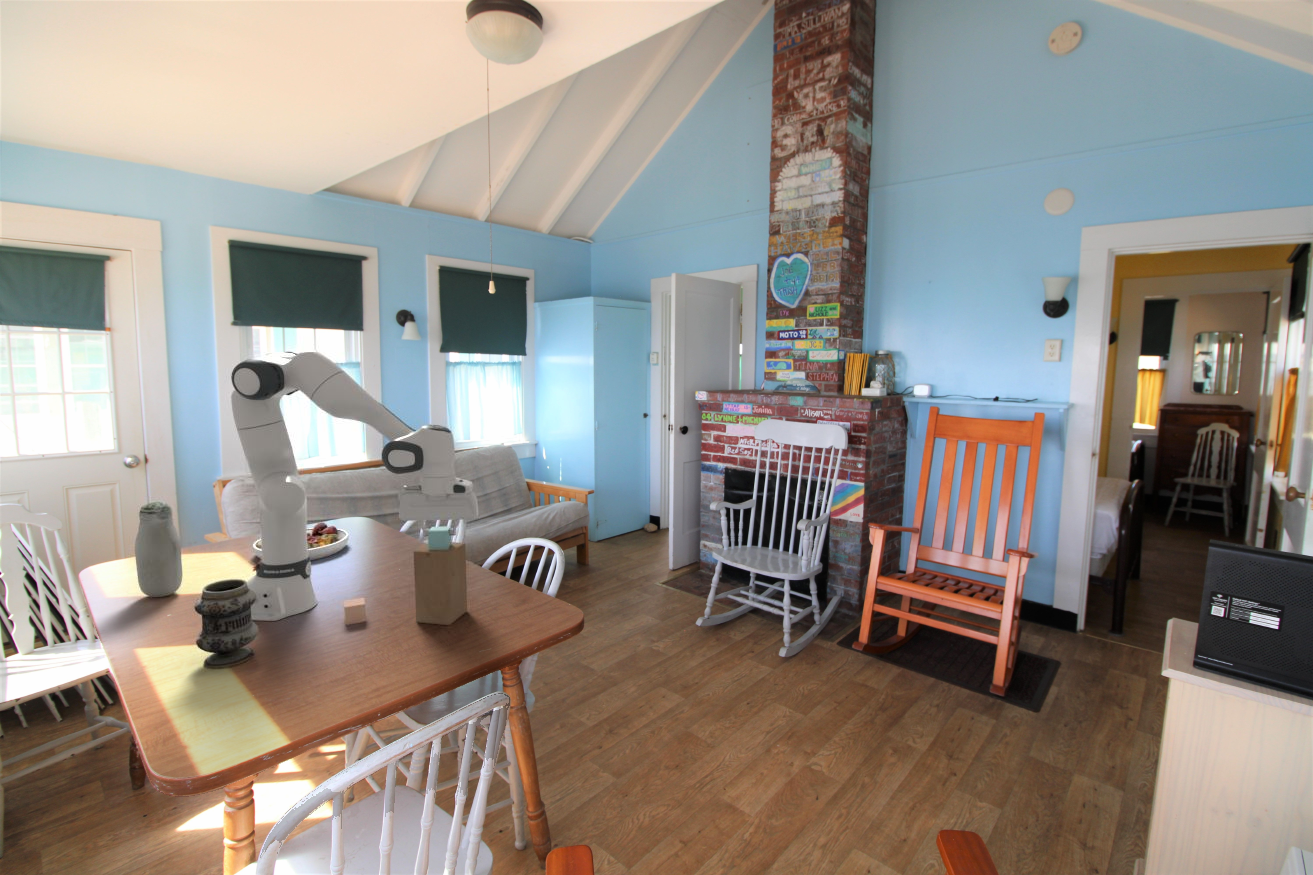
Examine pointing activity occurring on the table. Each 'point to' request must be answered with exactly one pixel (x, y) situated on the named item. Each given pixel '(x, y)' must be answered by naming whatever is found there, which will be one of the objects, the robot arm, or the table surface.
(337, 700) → the table surface
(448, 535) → the teal cube
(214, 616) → the apothecary jar
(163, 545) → the grey rounded bottle
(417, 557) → the wooden block
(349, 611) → the clay block
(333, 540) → the bowl
